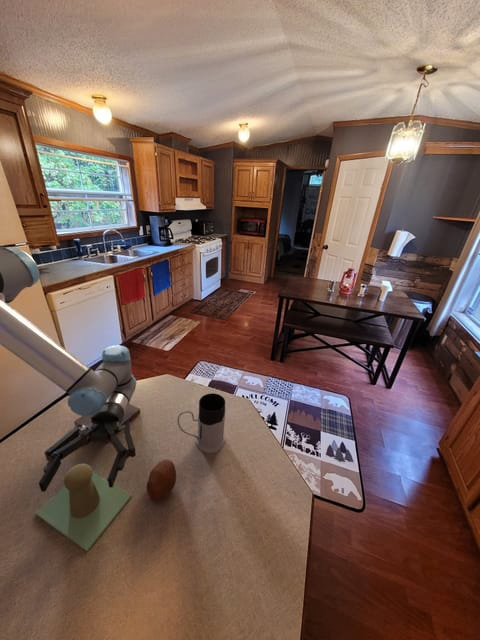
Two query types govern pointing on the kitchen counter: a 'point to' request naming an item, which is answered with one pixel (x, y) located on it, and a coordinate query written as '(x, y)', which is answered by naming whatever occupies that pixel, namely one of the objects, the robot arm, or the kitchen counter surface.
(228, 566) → the kitchen counter surface
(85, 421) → the frame
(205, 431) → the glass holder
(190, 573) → the kitchen counter surface
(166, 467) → the potato
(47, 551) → the kitchen counter surface
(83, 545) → the mat
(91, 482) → the cork
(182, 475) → the kitchen counter surface
